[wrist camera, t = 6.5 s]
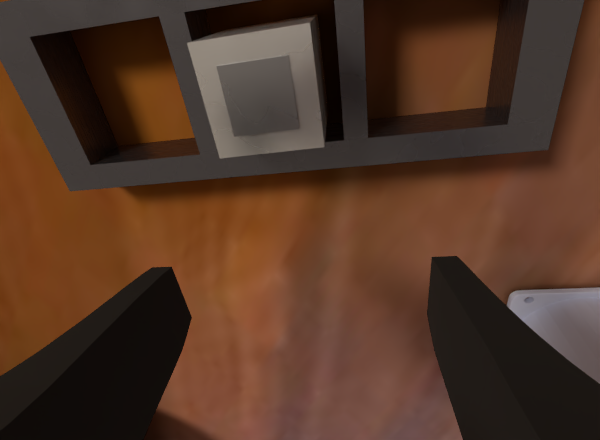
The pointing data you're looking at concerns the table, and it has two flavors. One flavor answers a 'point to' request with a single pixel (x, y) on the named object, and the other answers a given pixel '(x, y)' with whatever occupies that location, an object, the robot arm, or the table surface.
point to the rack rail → (336, 154)
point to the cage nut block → (263, 86)
